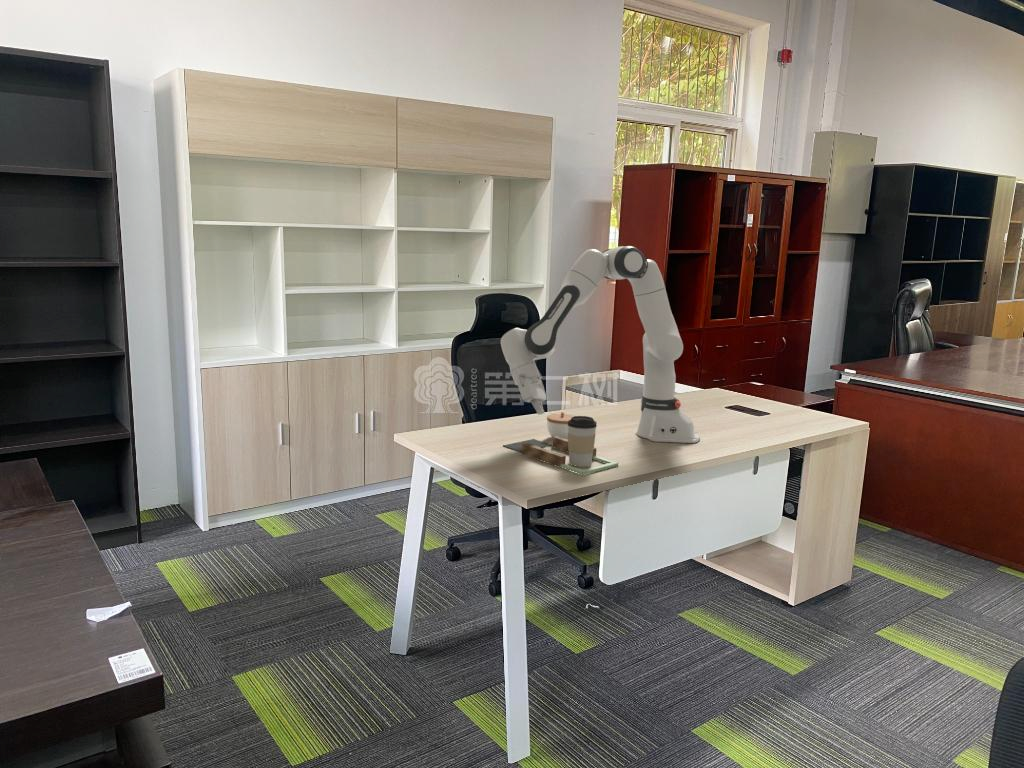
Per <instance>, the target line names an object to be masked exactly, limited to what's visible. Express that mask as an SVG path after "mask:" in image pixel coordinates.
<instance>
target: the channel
mask: <svg viewBox="0 0 1024 768" xmlns="http://www.w3.org/2000/svg"><path fill="white" fill-rule="evenodd" d="M554 447H555V449H557V448H558V450H560V449H562V450H561V451H563V450H564V451H563V452H566V451H568V452H567V453H569V450H568V439H565V438H562V437H558V436H555V437H552V448H554ZM521 455H523V456H525V457H530V458H532V459H534V458H535V459H534V460H537V459H538V460H537V461H540V460H542V461H541V462H543V461H545V462H544V463H546V462H548V463H547V464H549V463H550V464H549V465H552V464H553V465H552V466H554V465H556V466H555V467H557V466H559V467H558V468H560V467H561V464H566V459H567V458H566V457H567V456H566V455H565V454H562V453H558V452H556V451H553V450H551V449H547V448H545V447H543V448H541V447H538V446H535V445H532V444H529V443H523V444H522V452H521ZM593 456H597V447H594V450H593V455H592V459H593Z"/></svg>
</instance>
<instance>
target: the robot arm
mask: <svg viewBox="0 0 1024 768" xmlns="http://www.w3.org/2000/svg"><path fill="white" fill-rule="evenodd" d="M604 278H605V279H606V280H618V281H619V280H621V281H622V280H625V279H627V280H628V282H629V283H630V285H631V288H632V292H633V296H634V300H635V305H636V310H637V312H638V316H639V317H638V318H639V319H640V322H641V324H642V327H643V330H644V334H643V336H642V347H643V348H642V353H643V354H642V355H643V371H644V373H643V374H644V376H643V378H644V379H643V391H642V392H643V395H642V396H641V400H640V411H641V413H640V414H641V415H640V419H639V424H638V426H637V430H636V432H635V433H636V435H637V436H638V437H640V438H645V439H647V440H649V441H651V442H660V443H661V442H664V443H665V442H666V443H687V444H688V443H689V444H695V443H698V442H699V441H700V440H701V438H700V434H699V432H696V431H695V426H694V422H693V420H692V418H691V417H689V416H688V414H686V413H685V412H684V411H682V409H680V407H681V405H682V403H681V401H680V399H679V398H676V397H675V396H676V395H675V392H676V381H677V380H676V377H677V375H676V371H675V364H674V363H675V361H676V360H678V359H679V358H680V357H681V356H682V354H683V351H684V343H683V340H682V337H681V335H680V332H679V329H678V325H677V323H676V320H675V317H674V314H673V313H672V309H671V305H670V301H669V298H668V293H667V290H666V285H665V280H664V279H663V275H662V273H661V271H660V268H659V266H658V264H657V263H656V261H655V260H653V259H649V258H648V259H647V258H646V257H645V255H644V253H643V252H642V251H641V250H640V249H639V248H637V247H635V246H632V245H627V246H623V245H622V246H621V245H620V246H616V247H613V248H609V249H605V250H604V251H602V252H601V251H600V250H598V249H595V248H594V249H593V248H590V249H589V248H588V249H586V250H585V251H584V252H583V253H582V254H581V255H580V256H579V257H578V258H577V259H576V261H575V262H574V263H573V265H572V266H571V267H570V269H569V270H568V271H567V274H566V275H565V277H564V278H563V281H562V283H561V286H560V288H559V291H558V293H557V296H556V297H555V299H554V300H553V302H552V303H551V305H550V306H549V308H548V309H547V311H546V312H545V313H544V314H543V316H542V317H541V318H540V319H539V320H537V321H536V322H535V323H533V324H532V325H530V326H529V328H527V329H525V328H524V329H523V328H520V327H514V328H511V329H509V330H507V331H506V332H504V334H503V335H502V336H501V338H500V346H501V350H502V353H503V356H504V359H505V361H506V363H507V364H508V366H509V371H510V375H511V377H512V379H513V381H514V385H515V386H517V387H518V390H519V392H520V395H521V399H522V400H523V402H524V403H531V404H532V406H533V408H534V409H535V411H536V414H537V415H544V414H545V410H544V406H543V402H545V401H546V400H547V398H548V397H547V393H546V390H545V387H544V384H543V381H542V380H541V379H542V377H543V376H542V374H541V372H540V370H539V369H538V367H537V364H536V362H535V361H538V360H542V359H547V358H549V357H551V356H552V355H553V354H554V352H555V351H556V347H557V342H556V340H557V334H558V331H559V328H560V327H561V325H562V324H563V323H564V321H565V320H566V319H567V317H568V315H569V314H570V313H571V311H572V310H573V309H574V308H576V307H577V306H582V305H585V303H586V302H588V300H589V299H590V298H591V297H592V296H593V294H595V291H596V290H597V289H598V286H599V285H600V283H601V282H602V281H603V279H604Z"/></svg>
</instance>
